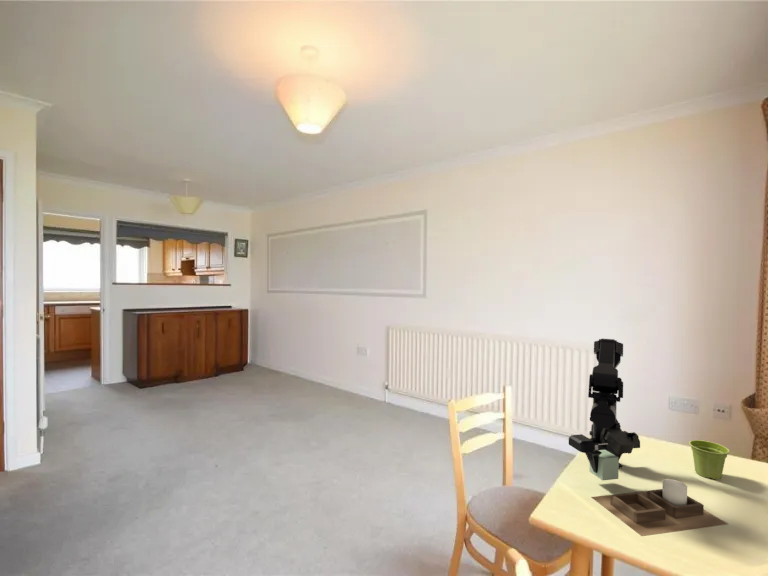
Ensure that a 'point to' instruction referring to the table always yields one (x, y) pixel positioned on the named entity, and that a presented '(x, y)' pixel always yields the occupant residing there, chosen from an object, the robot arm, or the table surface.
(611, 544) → the table surface
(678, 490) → the cream cylinder
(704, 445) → the plant pot
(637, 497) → the socket board
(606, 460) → the sage block
